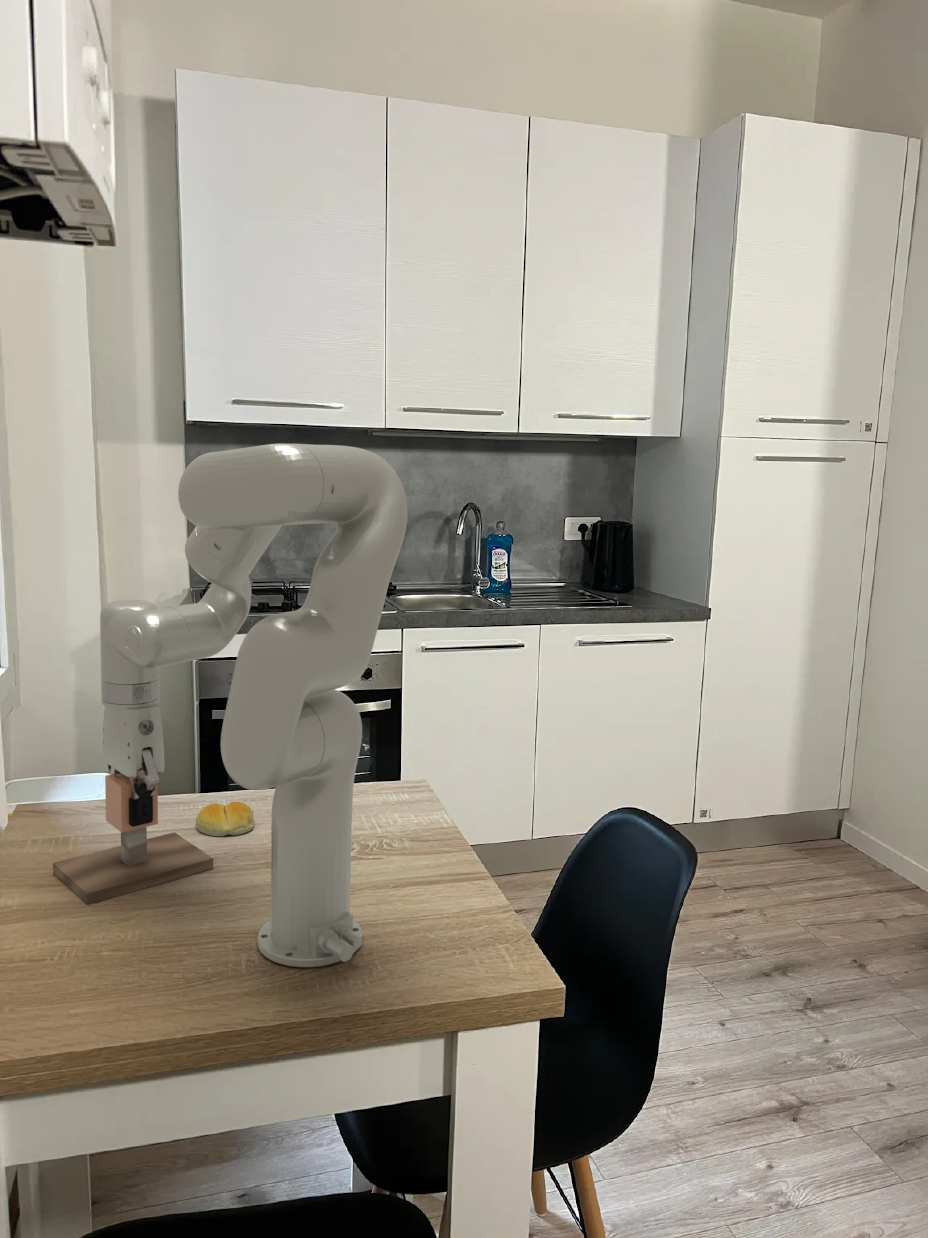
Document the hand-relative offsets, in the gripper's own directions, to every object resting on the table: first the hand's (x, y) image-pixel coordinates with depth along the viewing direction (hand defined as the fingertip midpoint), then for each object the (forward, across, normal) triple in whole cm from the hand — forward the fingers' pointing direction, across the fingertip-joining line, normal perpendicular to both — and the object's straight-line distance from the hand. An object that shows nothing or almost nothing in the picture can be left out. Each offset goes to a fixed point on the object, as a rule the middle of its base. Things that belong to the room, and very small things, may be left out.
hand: (131, 816), depth 133 cm
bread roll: (+9, +6, -18) cm, 21 cm away
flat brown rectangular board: (+8, 0, 0) cm, 8 cm away
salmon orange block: (+1, 0, 0) cm, 1 cm away
